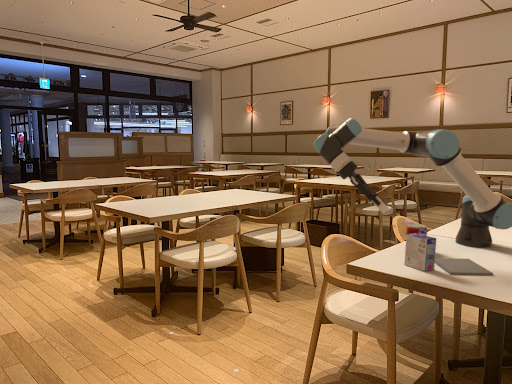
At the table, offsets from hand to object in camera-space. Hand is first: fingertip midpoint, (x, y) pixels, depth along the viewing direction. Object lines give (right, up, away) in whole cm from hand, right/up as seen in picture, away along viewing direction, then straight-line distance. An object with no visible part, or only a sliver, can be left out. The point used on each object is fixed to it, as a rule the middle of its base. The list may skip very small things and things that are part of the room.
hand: (385, 210), depth 152 cm
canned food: (+21, -19, +22) cm, 36 cm away
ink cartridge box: (+12, -22, -3) cm, 25 cm away
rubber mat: (+27, -21, -2) cm, 35 cm away
